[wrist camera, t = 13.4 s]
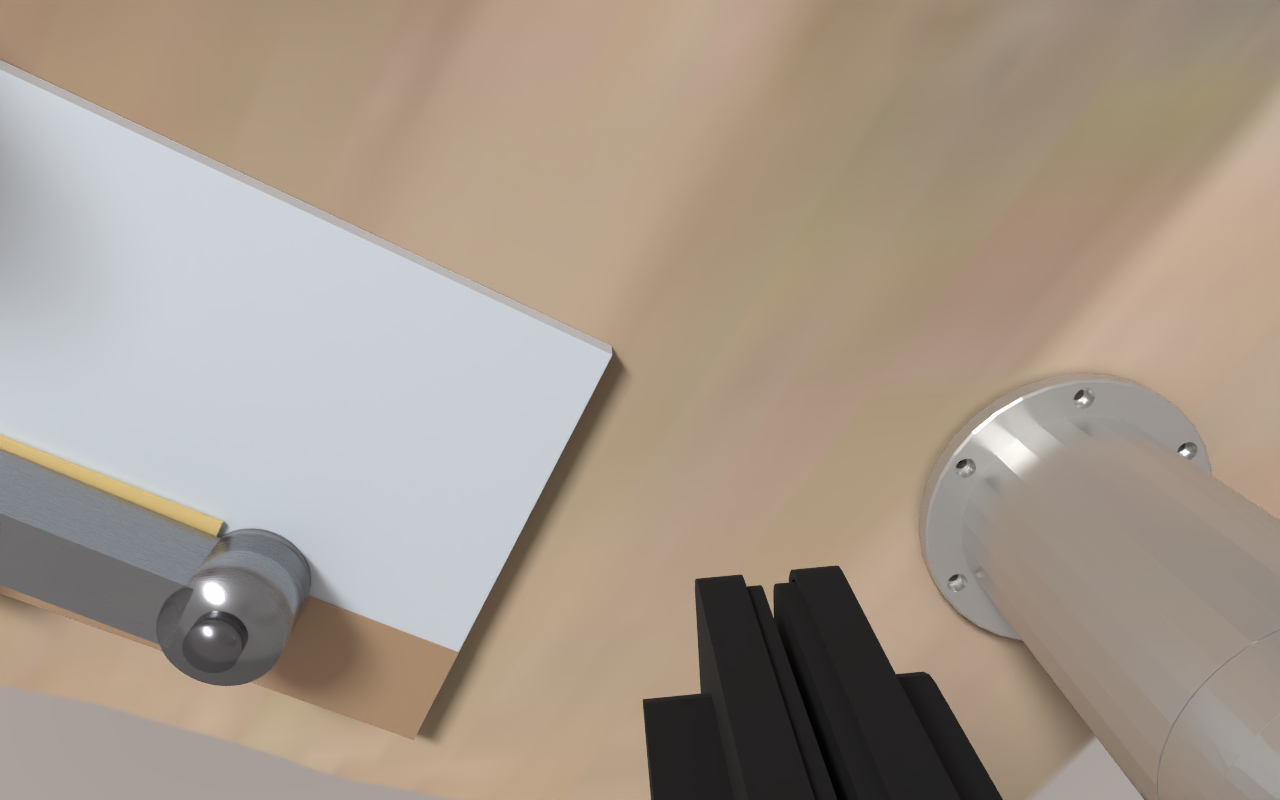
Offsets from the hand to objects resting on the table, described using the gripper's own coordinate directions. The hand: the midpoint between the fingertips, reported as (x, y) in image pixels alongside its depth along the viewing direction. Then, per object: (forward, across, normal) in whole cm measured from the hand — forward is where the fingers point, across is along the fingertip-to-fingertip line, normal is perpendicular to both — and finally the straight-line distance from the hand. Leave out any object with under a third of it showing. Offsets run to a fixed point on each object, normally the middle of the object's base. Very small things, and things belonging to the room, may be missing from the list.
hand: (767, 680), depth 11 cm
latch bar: (+25, +22, +9) cm, 35 cm away
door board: (+27, +18, +6) cm, 33 cm away
